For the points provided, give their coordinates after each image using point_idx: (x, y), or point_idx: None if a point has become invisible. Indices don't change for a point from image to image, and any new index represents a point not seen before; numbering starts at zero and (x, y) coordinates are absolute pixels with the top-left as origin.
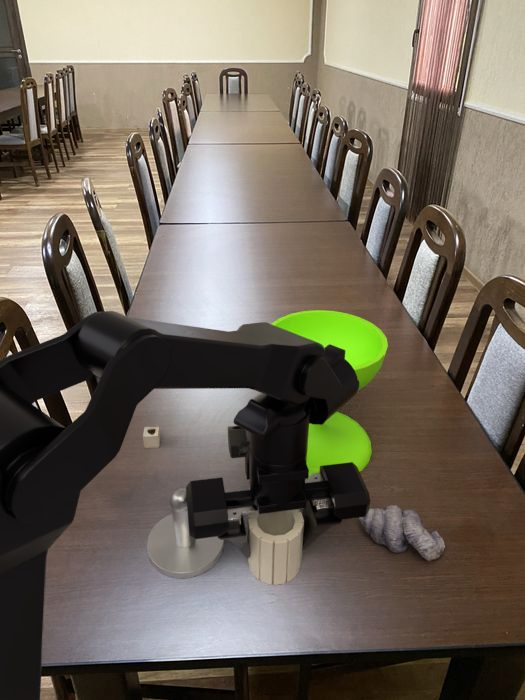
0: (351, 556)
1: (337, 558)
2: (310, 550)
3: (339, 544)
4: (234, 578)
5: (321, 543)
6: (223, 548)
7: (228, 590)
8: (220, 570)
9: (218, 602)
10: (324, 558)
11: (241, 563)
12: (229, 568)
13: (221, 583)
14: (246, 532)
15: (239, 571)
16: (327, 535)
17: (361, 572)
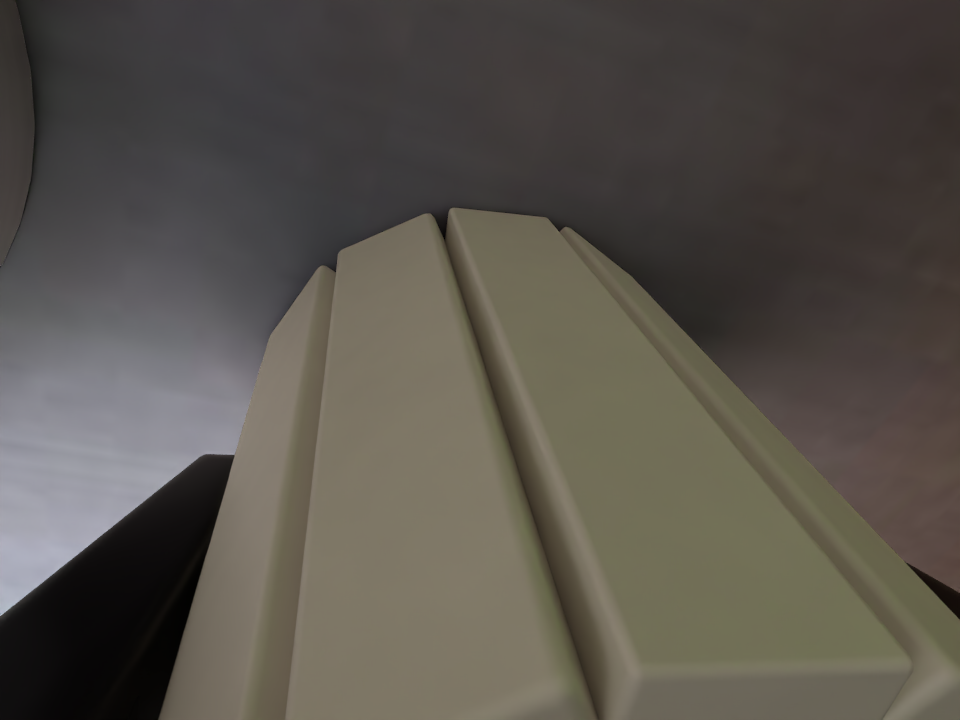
0: (943, 462)
1: (864, 458)
2: (750, 371)
3: (949, 370)
4: (133, 466)
5: (853, 335)
6: (29, 183)
7: (82, 537)
8: (10, 386)
9: (7, 596)
10: (794, 444)
11: (203, 363)
12: (94, 384)
13: (24, 485)
14: (146, 694)
15: (179, 423)
16: (936, 281)
17: (912, 554)
